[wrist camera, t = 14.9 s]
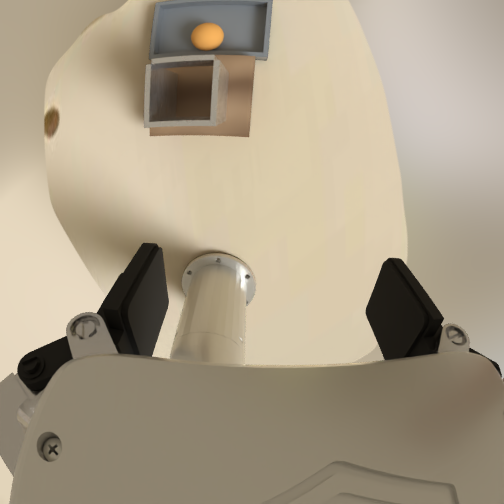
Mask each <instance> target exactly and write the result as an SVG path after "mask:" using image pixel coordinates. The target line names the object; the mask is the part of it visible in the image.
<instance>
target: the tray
mask: <svg viewBox="0 0 504 504" xmlns="http://www.w3.org/2000/svg"><path fill="white" fill-rule="evenodd" d="M272 2H273V0H172V1H165V2H158V3H156V5H155V12H154V19H153V26H152V34H151V43H150V53H149V60H152V59H154V58H164V57H175V56H189V55H243V56H255V60H267V58H268V49H269V38H270V26H271V14H272ZM203 23H214V24H216V25H218V26H219V27H221V29H222V30H223V33H224V38H223V41H222V43H221V44H220V45H219V46H218V47H217V48H215V49H213V50H208V51H204V50H200V49H198V48H196V47H195V46H194V45H193V43H192V41H191V35H192V32H193V30H194V29H195V28H196V27H197V26H199V25H200V24H203Z"/></svg>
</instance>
